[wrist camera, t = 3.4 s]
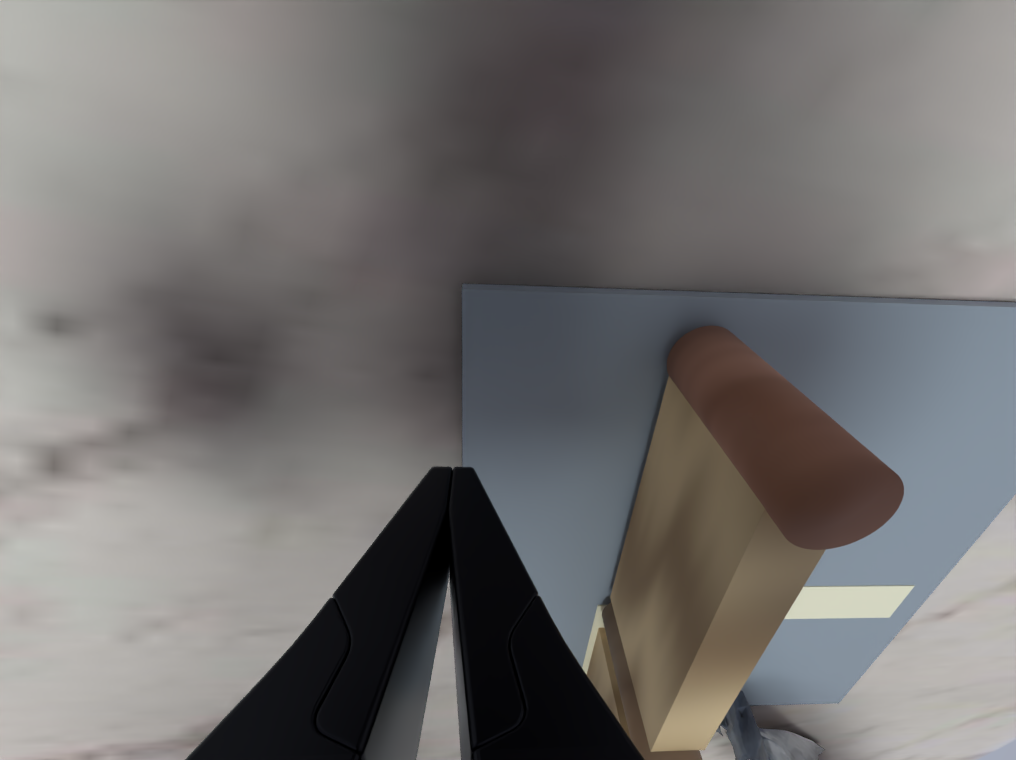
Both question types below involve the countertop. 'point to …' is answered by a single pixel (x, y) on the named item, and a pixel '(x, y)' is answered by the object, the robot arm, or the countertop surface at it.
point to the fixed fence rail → (606, 677)
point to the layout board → (806, 365)
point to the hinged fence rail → (727, 535)
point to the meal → (763, 737)
